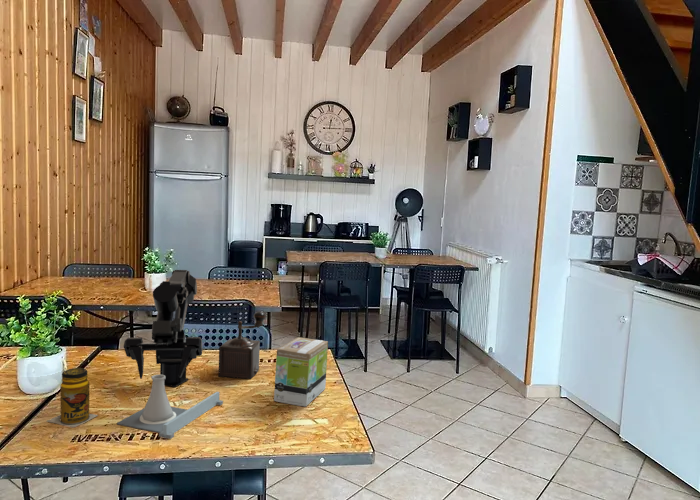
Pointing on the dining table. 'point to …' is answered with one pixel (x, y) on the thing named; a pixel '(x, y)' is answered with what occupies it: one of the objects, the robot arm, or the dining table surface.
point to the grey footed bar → (190, 415)
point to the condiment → (74, 398)
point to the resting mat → (140, 423)
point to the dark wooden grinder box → (240, 354)
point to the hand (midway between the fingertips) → (160, 377)
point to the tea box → (300, 371)
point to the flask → (157, 401)
